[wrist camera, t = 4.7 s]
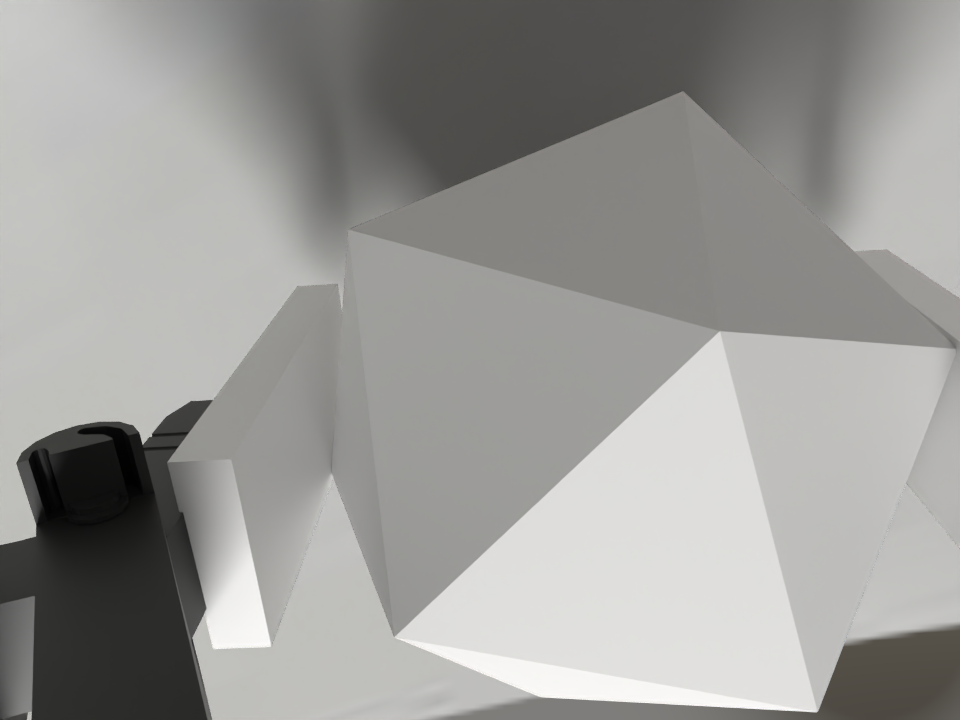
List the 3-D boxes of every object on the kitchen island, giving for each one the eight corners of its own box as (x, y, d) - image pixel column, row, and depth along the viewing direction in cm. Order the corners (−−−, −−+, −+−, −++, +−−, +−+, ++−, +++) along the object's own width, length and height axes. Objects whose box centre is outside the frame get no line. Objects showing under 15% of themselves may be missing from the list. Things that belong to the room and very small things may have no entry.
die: (325, 447, 18) (535, 927, 13) (160, 114, 12) (452, 819, 6) (652, 296, 20) (971, 667, 14) (674, -76, 13) (1299, 343, 7)
